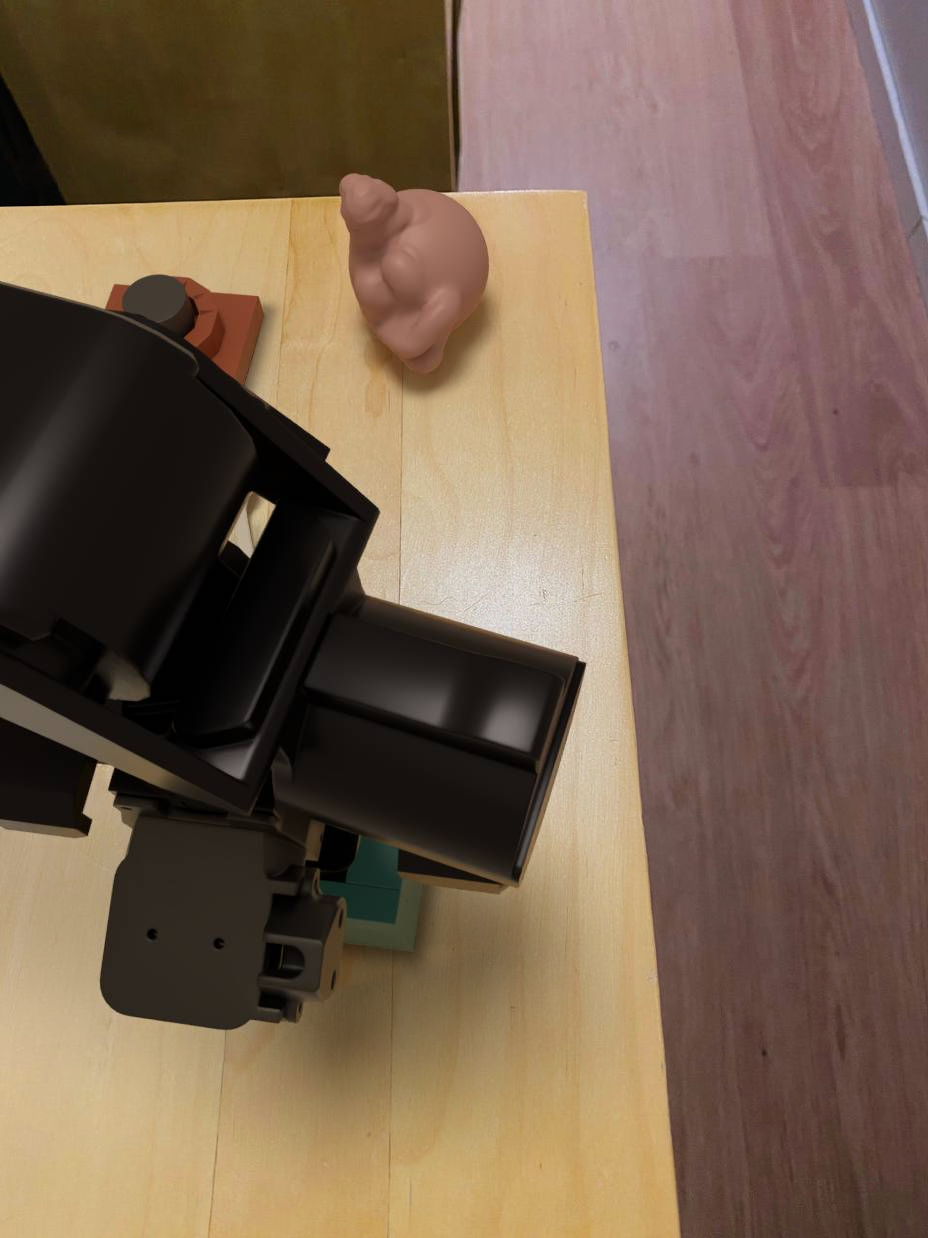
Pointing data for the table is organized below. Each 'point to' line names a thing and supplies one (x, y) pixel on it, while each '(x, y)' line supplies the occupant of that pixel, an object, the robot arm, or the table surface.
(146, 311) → the far button
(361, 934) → the green push button box
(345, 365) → the table surface
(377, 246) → the figurine
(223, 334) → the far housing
